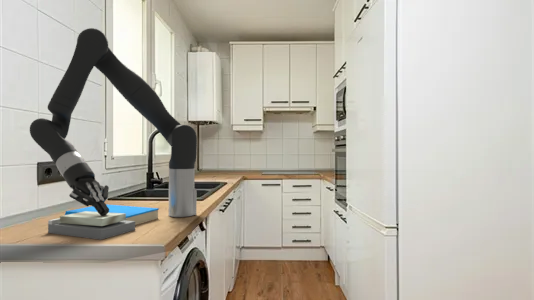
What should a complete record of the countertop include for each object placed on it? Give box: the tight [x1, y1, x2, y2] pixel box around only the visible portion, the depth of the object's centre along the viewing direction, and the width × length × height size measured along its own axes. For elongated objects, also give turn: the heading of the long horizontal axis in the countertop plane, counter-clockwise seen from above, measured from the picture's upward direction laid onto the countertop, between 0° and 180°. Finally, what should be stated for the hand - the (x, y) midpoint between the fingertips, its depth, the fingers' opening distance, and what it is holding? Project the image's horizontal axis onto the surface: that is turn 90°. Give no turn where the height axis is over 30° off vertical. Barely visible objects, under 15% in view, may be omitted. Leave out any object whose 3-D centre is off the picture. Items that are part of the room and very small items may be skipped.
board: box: [47, 217, 136, 241], centre depth 105 cm, size 13×20×4 cm, turn 69°
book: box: [64, 203, 160, 226], centre depth 122 cm, size 17×4×25 cm
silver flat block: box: [59, 211, 126, 226], centre depth 105 cm, size 9×16×2 cm, turn 69°
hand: (105, 213), depth 103 cm, fingers closed
